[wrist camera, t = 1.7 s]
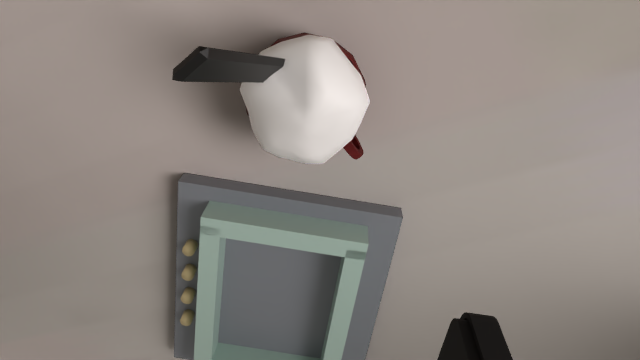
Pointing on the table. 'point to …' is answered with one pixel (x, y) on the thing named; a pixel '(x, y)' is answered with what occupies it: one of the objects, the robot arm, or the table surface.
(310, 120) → the cocoa
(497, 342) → the robot arm
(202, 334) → the holder board
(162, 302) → the table surface
